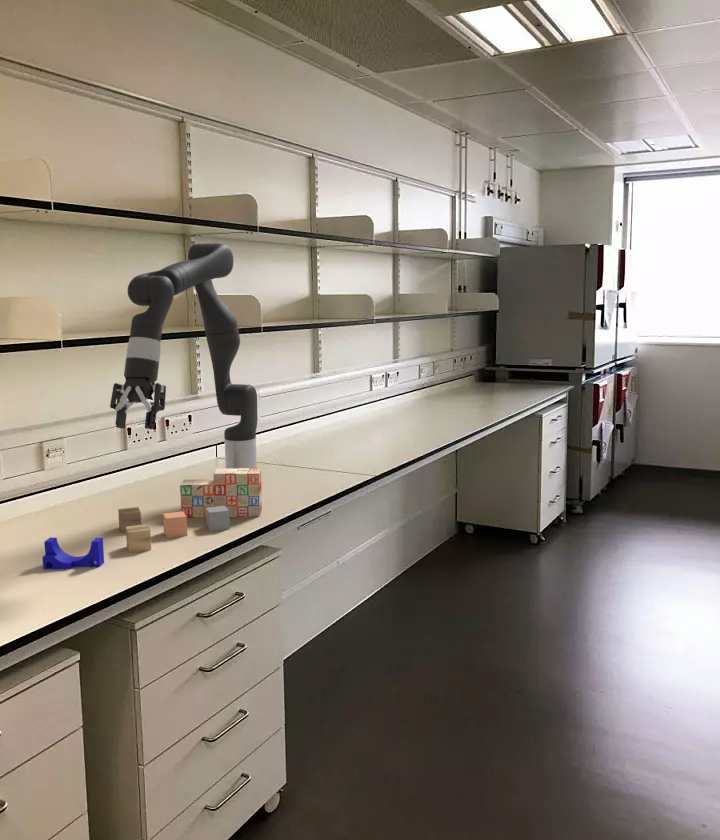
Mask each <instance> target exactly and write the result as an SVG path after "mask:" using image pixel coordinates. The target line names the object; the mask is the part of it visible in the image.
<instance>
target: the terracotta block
mask: <svg viewBox="0 0 720 840" xmlns="http://www.w3.org/2000/svg"><path fill="white" fill-rule="evenodd" d="M162 516H163V517H162V518H163V519H162V521H163V533H164V535H165V536H166V538H167V539H168V538H176V537H183V536H188V517H187V516H186V515H185V513H184V512H183V511H181V510H180V511H175V512H165V513H162Z"/></svg>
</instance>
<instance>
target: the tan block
mask: <svg viewBox="0 0 720 840" xmlns="http://www.w3.org/2000/svg"><path fill="white" fill-rule="evenodd" d="M117 512H118V529H119V530H120V533H121V534H122V533H126V527H128V526H137V525H142V513H141V509H140V508H139V506H137V507H125V508H118V511H117Z"/></svg>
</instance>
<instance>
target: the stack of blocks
mask: <svg viewBox="0 0 720 840" xmlns="http://www.w3.org/2000/svg"><path fill="white" fill-rule="evenodd" d="M179 488H180V489H179V492H180V506H181V507H180V512H181V511H183V512H184V513H185V515H186V516H187V518H206V508H208V507H217V506H225V507H226V508H227V509H228V510H229V518H245V517H244V516H250V517H249V518H252V517H251V516H260V517H261V514H262V510H263V506H262V468H257V469H249V468H239V469H238V468H235V469H226V468H216V469H215V470H214V472H213V478H212V479H203V478H202V479H201V478H200V479H183V480H182V481H181V483H180V485H179Z"/></svg>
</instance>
